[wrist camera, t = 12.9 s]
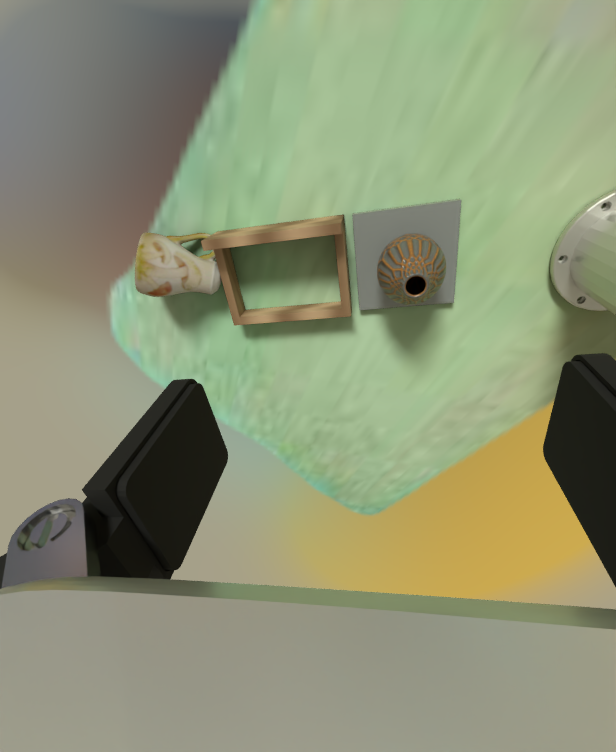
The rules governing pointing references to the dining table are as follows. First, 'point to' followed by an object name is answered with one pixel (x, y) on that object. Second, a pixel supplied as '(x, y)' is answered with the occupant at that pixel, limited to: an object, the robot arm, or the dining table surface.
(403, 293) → the vase
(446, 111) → the dining table surface
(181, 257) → the mug
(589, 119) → the dining table surface
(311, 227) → the wooden frame
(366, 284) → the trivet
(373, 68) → the dining table surface
